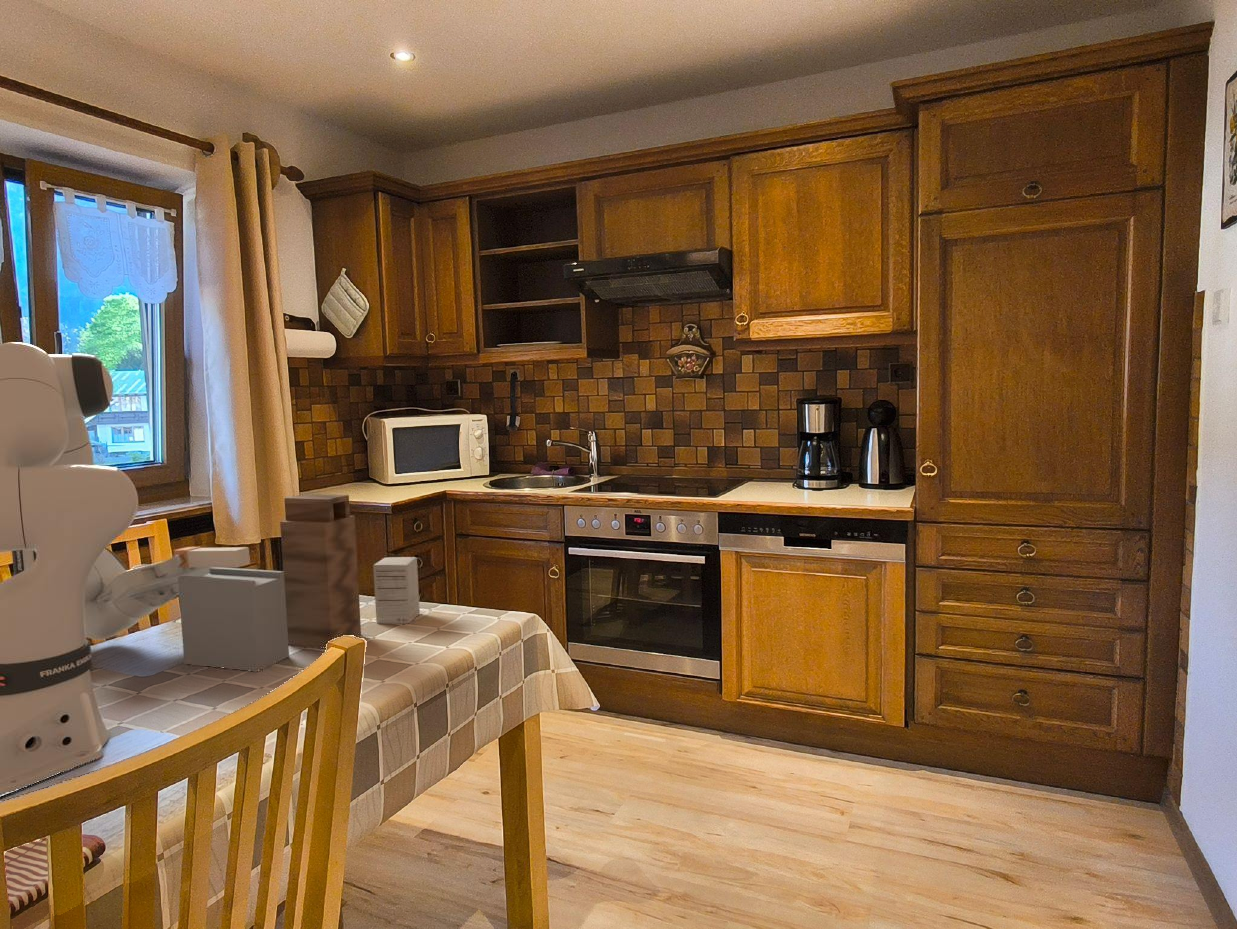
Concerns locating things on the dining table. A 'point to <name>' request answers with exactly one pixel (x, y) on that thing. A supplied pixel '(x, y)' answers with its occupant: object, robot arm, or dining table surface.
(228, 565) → the beige rectangular bar
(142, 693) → the dining table surface
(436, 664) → the dining table surface
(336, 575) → the holster tower
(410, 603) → the supplement box
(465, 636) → the dining table surface
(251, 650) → the block
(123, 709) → the dining table surface
